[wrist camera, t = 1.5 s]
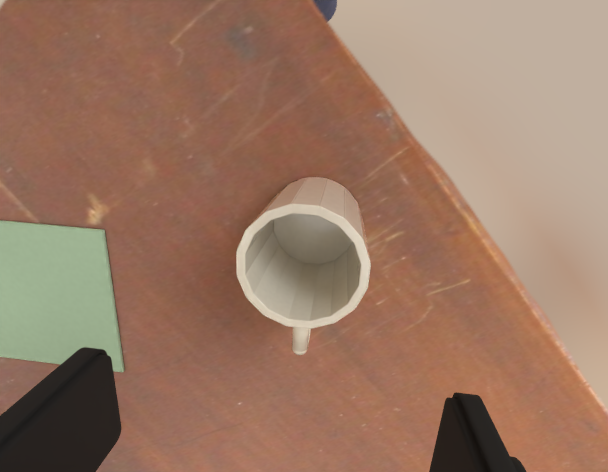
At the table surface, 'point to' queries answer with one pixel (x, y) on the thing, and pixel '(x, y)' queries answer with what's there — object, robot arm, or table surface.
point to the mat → (56, 293)
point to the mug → (305, 257)
